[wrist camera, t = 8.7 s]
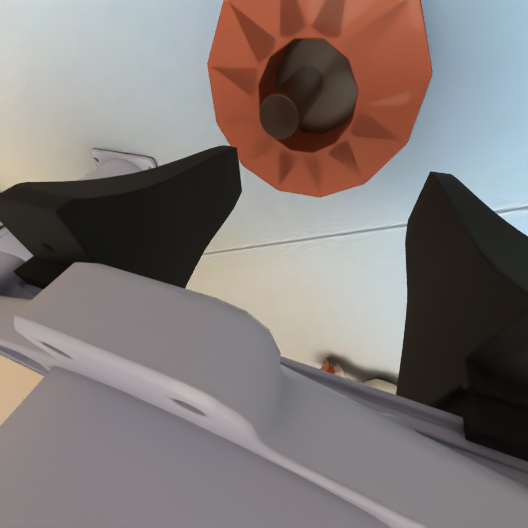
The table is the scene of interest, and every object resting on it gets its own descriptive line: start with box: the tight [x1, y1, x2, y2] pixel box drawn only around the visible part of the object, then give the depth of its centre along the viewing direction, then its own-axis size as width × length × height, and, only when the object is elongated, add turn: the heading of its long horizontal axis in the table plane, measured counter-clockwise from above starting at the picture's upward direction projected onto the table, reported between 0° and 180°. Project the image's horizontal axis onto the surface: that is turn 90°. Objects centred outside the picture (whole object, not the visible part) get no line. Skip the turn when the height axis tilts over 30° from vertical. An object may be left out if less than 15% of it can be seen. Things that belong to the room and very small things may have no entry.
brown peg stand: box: [259, 39, 358, 139], centre depth 15 cm, size 7×7×7 cm
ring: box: [208, 0, 432, 197], centre depth 15 cm, size 11×11×3 cm
